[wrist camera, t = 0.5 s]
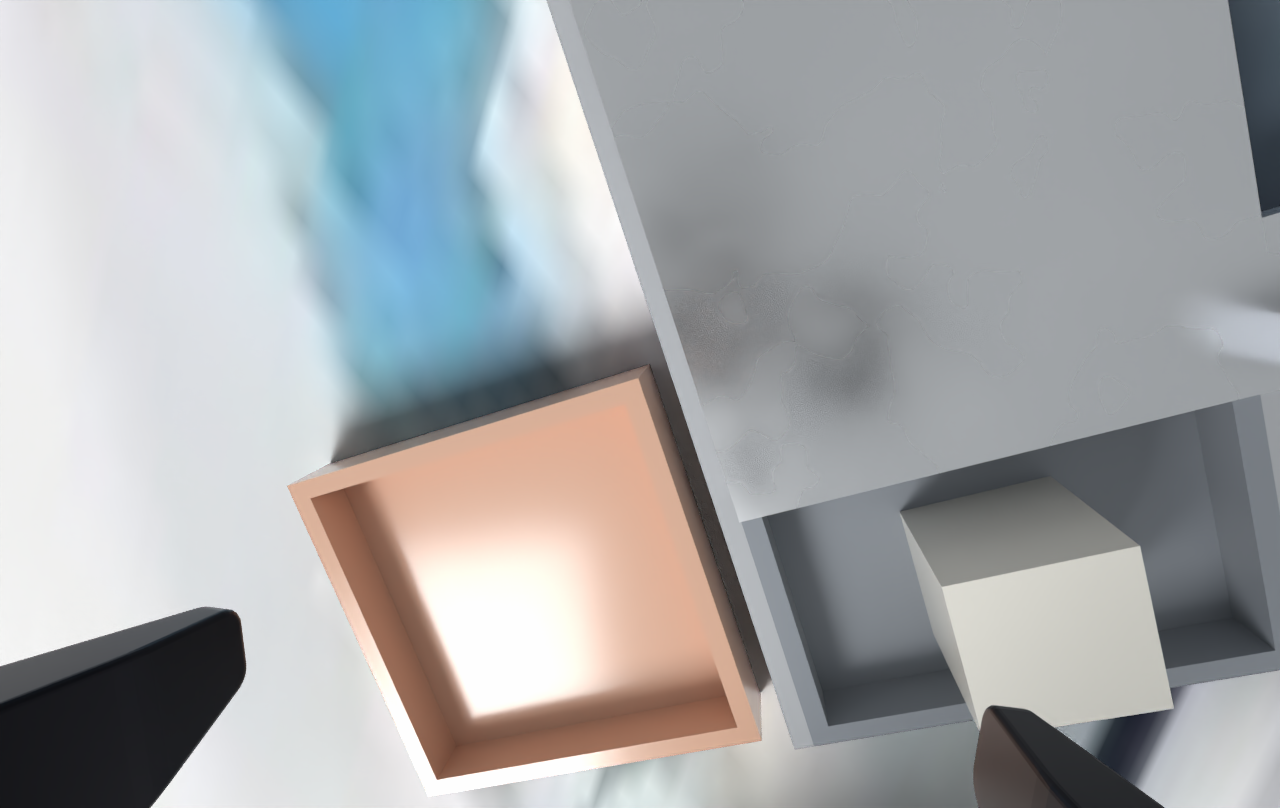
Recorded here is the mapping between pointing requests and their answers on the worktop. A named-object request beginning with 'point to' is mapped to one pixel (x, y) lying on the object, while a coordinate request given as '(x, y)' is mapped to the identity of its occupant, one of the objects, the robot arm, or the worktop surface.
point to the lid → (940, 224)
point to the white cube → (1039, 604)
